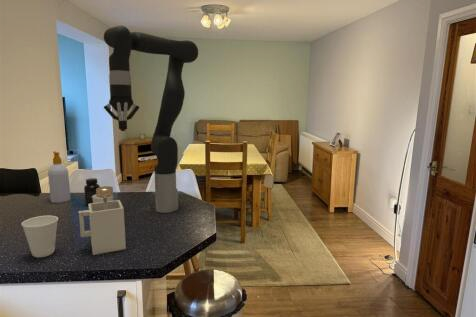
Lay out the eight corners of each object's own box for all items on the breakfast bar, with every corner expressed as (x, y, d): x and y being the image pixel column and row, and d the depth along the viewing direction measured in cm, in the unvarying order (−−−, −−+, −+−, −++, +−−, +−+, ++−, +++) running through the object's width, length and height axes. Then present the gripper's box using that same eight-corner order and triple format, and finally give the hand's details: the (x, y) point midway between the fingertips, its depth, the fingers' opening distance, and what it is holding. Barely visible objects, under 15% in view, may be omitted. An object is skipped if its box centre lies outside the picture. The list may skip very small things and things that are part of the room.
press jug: (121, 237, 116) (119, 199, 114) (125, 248, 107) (123, 208, 105) (81, 244, 110) (78, 204, 108) (82, 257, 102) (78, 214, 99)
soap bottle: (67, 196, 165) (63, 150, 161) (73, 200, 158) (68, 152, 154) (48, 199, 159) (43, 151, 155) (53, 204, 152) (48, 154, 148)
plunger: (118, 235, 114) (115, 184, 111) (121, 244, 108) (118, 189, 104) (95, 239, 111) (91, 186, 108) (96, 248, 104) (92, 192, 101)
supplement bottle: (104, 203, 155) (102, 178, 152) (91, 207, 149) (89, 181, 147) (95, 201, 158) (93, 177, 156) (82, 204, 152) (80, 179, 150)
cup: (35, 247, 108) (32, 215, 106) (66, 246, 109) (63, 214, 107) (18, 261, 98) (14, 227, 97) (52, 260, 99) (49, 226, 97)
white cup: (107, 222, 130) (105, 198, 128) (89, 221, 132) (87, 197, 130) (118, 216, 138) (116, 193, 136) (101, 214, 139) (99, 192, 137)
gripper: (137, 84, 126) (139, 129, 129) (100, 83, 120) (103, 130, 123) (140, 84, 119) (142, 131, 123) (101, 82, 114) (105, 132, 117)
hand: (123, 130), depth 123 cm, fingers closed
